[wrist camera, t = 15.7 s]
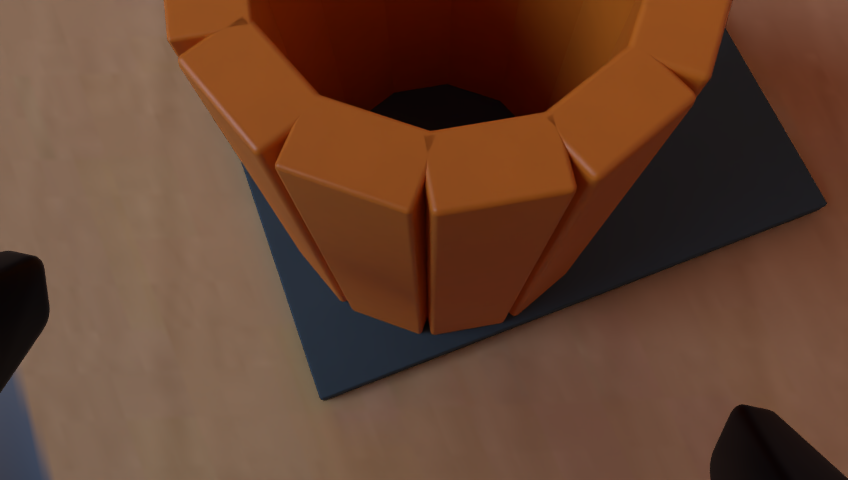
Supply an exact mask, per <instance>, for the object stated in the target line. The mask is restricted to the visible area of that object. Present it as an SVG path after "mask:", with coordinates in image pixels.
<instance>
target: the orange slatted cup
mask: <svg viewBox="0 0 848 480" xmlns="http://www.w3.org/2000/svg"><path fill="white" fill-rule="evenodd" d="M732 1H733V0H164V7H165V19H166V31H167V40H168V42H169V44H170V45H171V47H172V48H173V50H174V51H175V53H176V54H177V56H178V63H179V66H180V68H181V69H182V71H183V72H184V74H185V75H186V77H187V79H188V80H189V82H190V83H191V85H192V86H193V88H194V89H195V91H196V92H197V94H198V95H199V97H200V99H201V100H202V102H203V103H204V105H205V106H206V108H207V109H208V111H209V112H210V114H211V115H212V117H213V119H214V120H215V122H216V123H217V125H218V126H219V128H220V129H221V131H222V132H223V134H224V135H225V137H226V139H227V140H228V142H229V143H230V145H231V146H232V148H233V149H234V151H235V152H236V154H237V155H238V157H239V159H240V160H241V162H242V163H243V165H244V166H245V168H246V169H247V171H248V172H249V174H250V176H251V177H252V179H253V180H254V182H255V183H256V185H257V186H258V188H259V189H260V191H261V192H262V194H263V196H264V197H265V199H266V200H267V202H268V203H269V205H270V206H271V208H272V209H273V211H274V212H275V214H276V216H277V217H278V219H279V220H280V222H281V223H282V225H283V226H284V228H285V229H286V231H287V232H288V234H289V236H290V237H291V239H292V240H293V242H294V243H295V245H296V246H297V248H298V249H299V251H300V252H301V254H302V255H303V256H304V257H305V258H306V260H307V261H308V262H309V263H310V265H311V266H312V267H313V268H314V269H315V271H316V272H317V273H318V274H319V276H320V277H321V278H322V279H323V280H324V282H325V283H326V284H327V285H328V286H329V288H330V289H331V290H332V291H333V293H334V294H335V295H336V296H337V297H338V299H339V300H340V301H342V302H345V301H348V303H349V304H350V306H351V308H352V309H353V310H354V311H356V312H359V313H362V314H364V315H367V316H370V317H373V318H375V319H378V320H381V321H384V322H387V323H389V324H392V325H395V326H398V327H400V328H403V329H406V330H409V331H412V332H414V333H417V334H421V332H422V331H423V328H424V325H425V322H426V320H427V317H428V322H429V327H430V332H431V333H432V334H433V335H437V334H443V333H448V332H454V331H460V330H465V329H471V328H476V327H482V326H488V325H493V324H499V323H502V322H504V320H505V318H506V316H507V315H508V313H510V314H511V315H513V316H516V315H518V314H519V313H521V312H522V311H523V310H524V309H525V308H526V307H528V306H529V305H530V304H531V303H532V302H533V301H535V300H536V299H537V298H538V297H539V296H540V295H542V294H543V293H544V292H545V291H546V290H547V289H549V288H550V287H551V286H552V285H553V284H554V283H556V282H557V281H558V280H559V279H560V278H561V277H562V276H564V275H565V274H566V273H567V271H568V270H569V269H570V267H571V266H572V265H573V263H574V262H575V261H576V259H577V258H578V257H579V255H580V254H581V253H582V251H583V250H584V249H585V247H586V246H587V245H588V244H589V242H590V241H591V240H592V238H593V237H594V236H595V234H596V233H597V232H598V230H599V229H600V228H601V226H602V225H603V224H604V222H605V221H606V220H607V218H608V217H609V216H610V214H611V213H612V212H613V210H614V209H615V208H616V206H617V205H618V204H619V202H620V201H621V200H622V199H623V197H624V196H625V195H626V193H627V192H628V191H629V189H630V188H631V187H632V185H633V184H634V183H635V181H636V180H637V179H638V177H639V176H640V175H641V173H642V172H643V171H644V169H645V168H646V167H647V165H648V164H649V163H650V161H651V160H652V159H653V157H654V156H655V155H656V154H657V152H658V151H659V150H660V148H661V147H662V146H663V144H664V143H665V142H666V140H667V139H668V138H669V136H670V135H671V134H672V132H673V131H674V130H675V128H676V127H677V126H678V124H679V123H680V122H681V120H682V119H683V118H684V116H685V115H686V114H687V112H688V111H689V110H690V108H691V107H692V106H693V105H694V102H695V100H696V97H697V96H698V95H699V93H700V92H701V91H702V89H703V88H704V87H705V85H706V84H707V83H708V81H709V80H710V79H711V76H712V73H713V69H714V66H715V62H716V58H717V55H718V51H719V48H720V44H721V40H722V37H723V33H724V29H725V26H726V22H727V19H728V15H729V11H730V8H731V4H732ZM444 84H449V85H452V86H455V87H458V88H461V89H464V90H468V91H471V92H474V93H477V94H480V95H483V96H486V97H489V98H493V99H496V100H499V101H501V102H502V103H503V104H504V105H505V106H506V107H507V108H508V109H509V110H510V111H511V112H512V113H513V114H514V115H515V117H512V118H506V119H500V120H494V121H488V122H482V123H476V124H470V125H464V126H458V127H452V128H446V129H440V130H434V131H429V130H426V129H423V128H420V127H417V126H413V125H410V124H407V123H404V122H401V121H398V120H395V119H392V118H389V117H386V116H383V115H380V114H377V113H374V112H371V111H370V110H372V109H373V108H374V107H376V106H377V105H378V104H380V103H381V102H382V101H384V100H385V99H386V98H388V97H389V96H390V95H392V94H393V93H395V92H401V91H407V90H413V89H419V88H425V87H432V86H438V85H444Z"/></svg>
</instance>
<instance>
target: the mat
mask: <svg viewBox="0 0 848 480" xmlns="http://www.w3.org/2000/svg"><path fill="white" fill-rule="evenodd" d="M370 111H371V112H374V113H377V114H380V115H383V116H386V117H389V118H392V119H395V120H398V121H401V122H404V123H407V124H410V125H413V126H417V127H420V128H423V129H426V130H429V131H434V130H440V129H446V128H452V127H458V126H464V125H470V124H476V123H482V122H488V121H494V120H500V119H506V118H512V117H515V115H514V114H513V113H512V112H511V111H510V110H509V109H508V108H507V107H506V106H505V105H504V104H503V103H502V102H501V101H499V100H496V99H493V98H489V97H486V96H483V95H480V94H477V93H474V92H471V91H468V90H464V89H461V88H458V87H455V86H452V85H449V84H444V85H438V86H432V87H425V88H419V89H413V90H407V91H401V92H395V93H393V94H392V95H390V96H389V97H388V98H386V99H385V100H384V101H382V102H381V103H380V104H378V105H377V106H376V107H374V108H373V109H372V110H370ZM242 165H243V163H242ZM243 168H244V171H245V174H246V177H247V180H248V183H249V186H250V189H251V192H252V195H253V198H254V201H255V204H256V207H257V210H258V213H259V216H260V219H261V222H262V225H263V228H264V231H265V234H266V237H267V240H268V243H269V246H270V249H271V253H272V256H273V259H274V262H275V265H276V268H277V271H278V274H279V277H280V280H281V283H282V286H283V289H284V292H285V295H286V298H287V301H288V304H289V307H290V310H291V313H292V316H293V319H294V322H295V325H296V328H297V331H298V334H299V337H300V340H301V343H302V346H303V349H304V352H305V355H306V358H307V361H308V364H309V367H310V370H311V373H312V376H313V379H314V382H315V385H316V388H317V391H318V394H319V397H320V399H321V400H328V399H330V398H333V397H335V396H338V395H340V394H343V393H346V392H348V391H351V390H353V389H356V388H359V387H361V386H364V385H366V384H369V383H372V382H374V381H377V380H379V379H382V378H385V377H387V376H390V375H392V374H395V373H397V372H400V371H403V370H405V369H408V368H410V367H413V366H416V365H418V364H421V363H423V362H426V361H429V360H431V359H434V358H436V357H439V356H442V355H444V354H447V353H449V352H452V351H454V350H457V349H460V348H462V347H465V346H467V345H470V344H473V343H475V342H478V341H480V340H483V339H486V338H488V337H491V336H493V335H496V334H498V333H501V332H504V331H506V330H509V329H511V328H514V327H517V326H519V325H522V324H524V323H527V322H530V321H532V320H535V319H537V318H540V317H543V316H545V315H548V314H550V313H553V312H555V311H558V310H561V309H563V308H566V307H568V306H571V305H574V304H576V303H579V302H581V301H584V300H587V299H589V298H592V297H594V296H597V295H600V294H602V293H605V292H607V291H610V290H612V289H615V288H618V287H620V286H623V285H625V284H628V283H631V282H633V281H636V280H638V279H641V278H644V277H646V276H649V275H651V274H654V273H657V272H659V271H662V270H664V269H667V268H669V267H672V266H675V265H677V264H680V263H682V262H685V261H688V260H690V259H693V258H695V257H698V256H701V255H703V254H706V253H708V252H711V251H714V250H716V249H719V248H721V247H724V246H726V245H729V244H732V243H734V242H737V241H739V240H742V239H745V238H747V237H750V236H752V235H755V234H758V233H760V232H763V231H765V230H768V229H771V228H773V227H776V226H778V225H781V224H783V223H786V222H789V221H791V220H794V219H796V218H799V217H802V216H804V215H807V214H809V213H812V212H815V211H817V210H819V209H821V208H822V207H824V206H826V205H827V202H826V201H825V199H824V197H823V195H822V194H821V192H820V190H819V189H818V187H817V185H816V183H815V182H814V180H813V178H812V177H811V175H810V173H809V171H808V170H807V168H806V166H805V164H804V163H803V161H802V159H801V158H800V156H799V154H798V152H797V151H796V149H795V147H794V146H793V144H792V142H791V140H790V139H789V137H788V135H787V133H786V132H785V130H784V128H783V127H782V125H781V123H780V121H779V120H778V118H777V116H776V115H775V113H774V111H773V109H772V108H771V106H770V104H769V103H768V101H767V99H766V97H765V96H764V94H763V92H762V90H761V89H760V87H759V85H758V84H757V82H756V80H755V78H754V77H753V75H752V73H751V72H750V70H749V68H748V66H747V65H746V63H745V61H744V59H743V58H742V56H741V54H740V53H739V51H738V49H737V47H736V46H735V44H734V42H733V41H732V39H731V37H730V35H729V34H728V32H727V30H726V28H725V29H724V33H723V37H722V40H721V44H720V48H719V51H718V55H717V58H716V62H715V66H714V69H713V73H712V76H711V79H710V80H709V81H708V83H707V84H706V85H705V87H704V88H703V89H702V91H701V92H700V93H699V95H698V96H697V97H696V100H695V102H694V105H693V106H692V107H691V108H690V110H689V111H688V112H687V114H686V115H685V116H684V118H683V119H682V120H681V122H680V123H679V124H678V126H677V127H676V128H675V130H674V131H673V132H672V134H671V135H670V136H669V138H668V139H667V140H666V142H665V143H664V144H663V146H662V147H661V148H660V150H659V151H658V152H657V154H656V155H655V156H654V157H653V159H652V160H651V161H650V163H649V164H648V165H647V167H646V168H645V169H644V171H643V172H642V173H641V175H640V176H639V177H638V179H637V180H636V181H635V183H634V184H633V185H632V187H631V188H630V189H629V191H628V192H627V193H626V195H625V196H624V197H623V199H622V200H621V201H620V202H619V204H618V205H617V206H616V208H615V209H614V210H613V212H612V213H611V214H610V216H609V217H608V218H607V220H606V221H605V222H604V224H603V225H602V226H601V228H600V229H599V230H598V232H597V233H596V234H595V236H594V237H593V238H592V240H591V241H590V242H589V244H588V245H587V246H586V247H585V249H584V250H583V251H582V253H581V254H580V255H579V257H578V258H577V259H576V261H575V262H574V263H573V265H572V266H571V267H570V269H569V270H568V271H567V273H566V274H565V275H564V276H562V277H561V278H560V279H559V280H558V281H557V282H556V283H554V284H553V285H552V286H551V287H550V288H549V289H547V290H546V291H545V292H544V293H543V294H542V295H540V296H539V297H538V298H537V299H536V300H535V301H533V302H532V303H531V304H530V305H529V306H528V307H526V308H525V309H524V310H523V311H522V312H521V313H519V314H518V315H516V316H513V315H511V314H510V313H508V315H507V316H506V318H505V320H504V322H502V323H499V324H493V325H488V326H482V327H476V328H471V329H465V330H460V331H454V332H448V333H443V334H437V335H433V334H432V333H431V332H430V327H429V322H428V317H427V320H426V322H425V325H424V328H423V331H422V332H421V334H417V333H414V332H412V331H409V330H406V329H403V328H400V327H398V326H395V325H392V324H389V323H387V322H384V321H381V320H378V319H375V318H373V317H370V316H367V315H364V314H362V313H359V312H356V311H354V310H353V309H352V308H351V306H350V304H349V303H348V301H345V302H342V301H340V300H339V299H338V297H337V296H336V295H335V294H334V293H333V291H332V290H331V289H330V288H329V286H328V285H327V284H326V283H325V282H324V280H323V279H322V278H321V277H320V276H319V274H318V273H317V272H316V271H315V269H314V268H313V267H312V266H311V265H310V263H309V262H308V261H307V260H306V258H305V257H304V256H303V255H302V254H301V252H300V251H299V249H298V248H297V246H296V245H295V243H294V242H293V240H292V239H291V237H290V236H289V234H288V232H287V231H286V229H285V228H284V226H283V225H282V223H281V222H280V220H279V219H278V217H277V216H276V214H275V212H274V211H273V209H272V208H271V206H270V205H269V203H268V202H267V200H266V199H265V197H264V196H263V194H262V192H261V191H260V189H259V188H258V186H257V185H256V183H255V182H254V180H253V179H252V177H251V176H250V174H249V172H248V171H247V169H246V168H245V166H244V165H243Z"/></svg>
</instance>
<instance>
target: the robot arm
mask: <svg viewBox="0 0 848 480" xmlns="http://www.w3.org/2000/svg"><path fill="white" fill-rule="evenodd" d="M49 310H50V309H49V300H48V292H47V285H46V277H45V269H44V265H43V263H42V261H41V260H40V259H39V258H38V257H36V256H33V255H28V254H24V253H19V252H14V251H3V252H0V393H1V391H2V389H3V388H4V387H5V385H6V384H7V382H8V381H9V379H10V378H11V376H12V375H13V373H14V372H15V370H16V369H17V367H18V366H19V365H20V363H21V362H22V360H23V359H24V357H25V356H26V354H27V353H28V351H29V350H30V348H31V347H32V345H33V344H34V342H35V341H36V339H37V338H38V337H39V335H40V334H41V332H42V331H43V329H44V327H45V326H46V323H47V321H48V317H49ZM710 478H711V480H848V478H847V477H846V476H844V475H843V474H842V473H841V472H840V471H839V470H838V469H837V468H836V467H834V466H833V465H832V464H831V463H830V462H829V461H828V460H827V459H826V458H824V457H823V456H822V455H821V454H820V453H819V452H818V451H817V450H816V449H815V448H813V447H812V446H811V445H810V444H809V443H808V442H807V441H806V440H805V439H803V438H802V437H801V436H800V435H799V434H798V433H797V432H796V431H795V430H794V429H792V428H791V427H790V426H789V425H788V424H787V423H786V422H785V421H784V420H782V419H781V418H780V417H779V416H778V415H777V414H776V413H774V412H773V411H771V410H767V409H763V408H758V407H753V406H748V405H743V404H741V405H738V406H736V407H735V408H734V409H733V410H732V412H731V414H730V416H729V418H728V420H727V422H726V424H725V426H724V429H723V431H722V433H721V435H720V437H719V440H718V442H717V444H716V446H715V448H714V451H713V453H712V457H711V462H710Z"/></svg>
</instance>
